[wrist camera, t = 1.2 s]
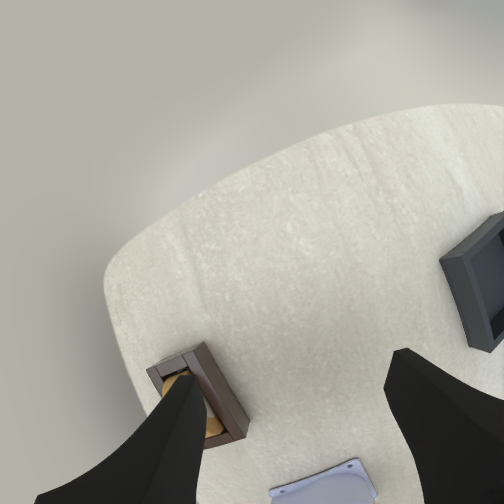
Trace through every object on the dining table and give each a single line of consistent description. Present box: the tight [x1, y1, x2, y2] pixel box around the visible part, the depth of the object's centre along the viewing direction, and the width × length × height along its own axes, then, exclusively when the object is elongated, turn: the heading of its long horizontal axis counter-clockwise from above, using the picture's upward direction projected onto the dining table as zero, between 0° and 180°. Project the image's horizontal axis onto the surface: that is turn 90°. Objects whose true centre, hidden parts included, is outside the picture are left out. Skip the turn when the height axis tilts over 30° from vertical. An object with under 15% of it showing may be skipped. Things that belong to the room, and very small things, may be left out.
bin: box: [439, 211, 504, 353], centre depth 17 cm, size 10×10×4 cm
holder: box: [146, 342, 250, 450], centre depth 19 cm, size 5×8×3 cm, turn 28°
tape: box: [162, 369, 224, 438], centre depth 18 cm, size 2×6×6 cm, turn 27°
